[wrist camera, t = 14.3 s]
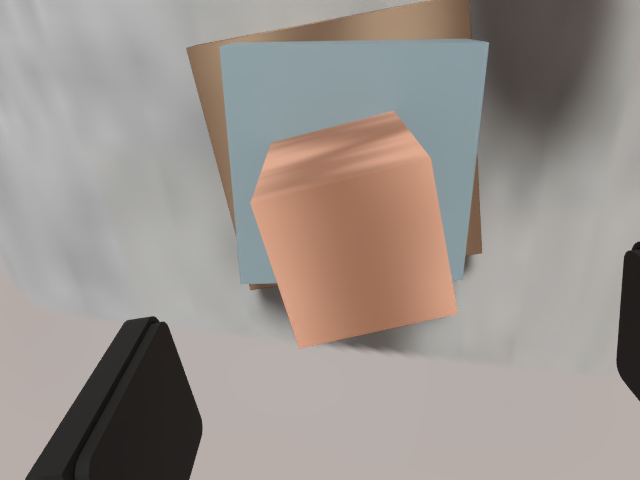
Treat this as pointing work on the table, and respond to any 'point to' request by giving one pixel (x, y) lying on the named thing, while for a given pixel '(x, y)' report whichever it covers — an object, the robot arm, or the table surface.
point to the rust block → (354, 230)
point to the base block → (387, 24)
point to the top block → (354, 116)
